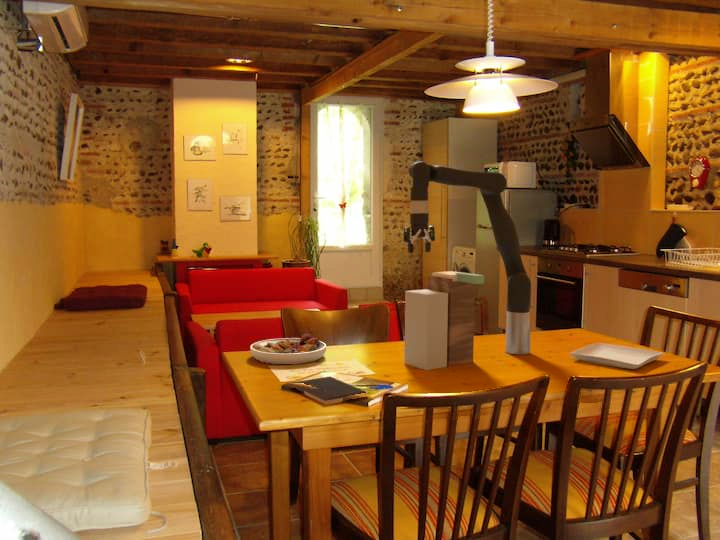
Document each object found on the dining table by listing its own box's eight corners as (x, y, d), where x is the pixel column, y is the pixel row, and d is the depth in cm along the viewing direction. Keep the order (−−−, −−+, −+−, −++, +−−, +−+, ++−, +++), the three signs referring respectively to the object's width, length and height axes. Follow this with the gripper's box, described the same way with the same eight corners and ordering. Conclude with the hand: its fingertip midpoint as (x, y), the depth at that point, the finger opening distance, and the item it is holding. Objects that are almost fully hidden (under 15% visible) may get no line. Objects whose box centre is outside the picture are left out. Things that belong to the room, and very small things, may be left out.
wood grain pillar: (473, 362, 264) (475, 277, 261) (449, 366, 257) (450, 279, 254) (450, 355, 275) (452, 274, 272) (426, 359, 268) (428, 275, 265)
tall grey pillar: (446, 366, 257) (448, 293, 254) (426, 370, 251) (427, 295, 248) (424, 360, 267) (425, 289, 264) (404, 363, 261) (405, 291, 259)
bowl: (295, 370, 250) (295, 349, 249) (234, 360, 266) (234, 340, 265) (340, 355, 276) (340, 336, 275) (282, 346, 291) (282, 328, 291)
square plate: (568, 361, 268) (568, 351, 267) (597, 350, 288) (598, 341, 287) (637, 373, 249) (638, 363, 249) (664, 361, 269) (664, 351, 269)
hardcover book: (324, 407, 207) (324, 399, 207) (290, 389, 227) (290, 382, 226) (368, 398, 216) (368, 391, 216) (331, 382, 235) (331, 376, 235)
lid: (489, 282, 253) (489, 274, 253) (470, 284, 247) (470, 276, 247) (451, 277, 270) (451, 269, 270) (432, 278, 265) (432, 271, 264)
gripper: (427, 211, 279) (427, 251, 281) (399, 212, 271) (399, 253, 273) (439, 211, 273) (439, 252, 275) (411, 212, 265) (411, 254, 267)
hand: (419, 252), depth 274 cm, fingers open, 8 cm apart
